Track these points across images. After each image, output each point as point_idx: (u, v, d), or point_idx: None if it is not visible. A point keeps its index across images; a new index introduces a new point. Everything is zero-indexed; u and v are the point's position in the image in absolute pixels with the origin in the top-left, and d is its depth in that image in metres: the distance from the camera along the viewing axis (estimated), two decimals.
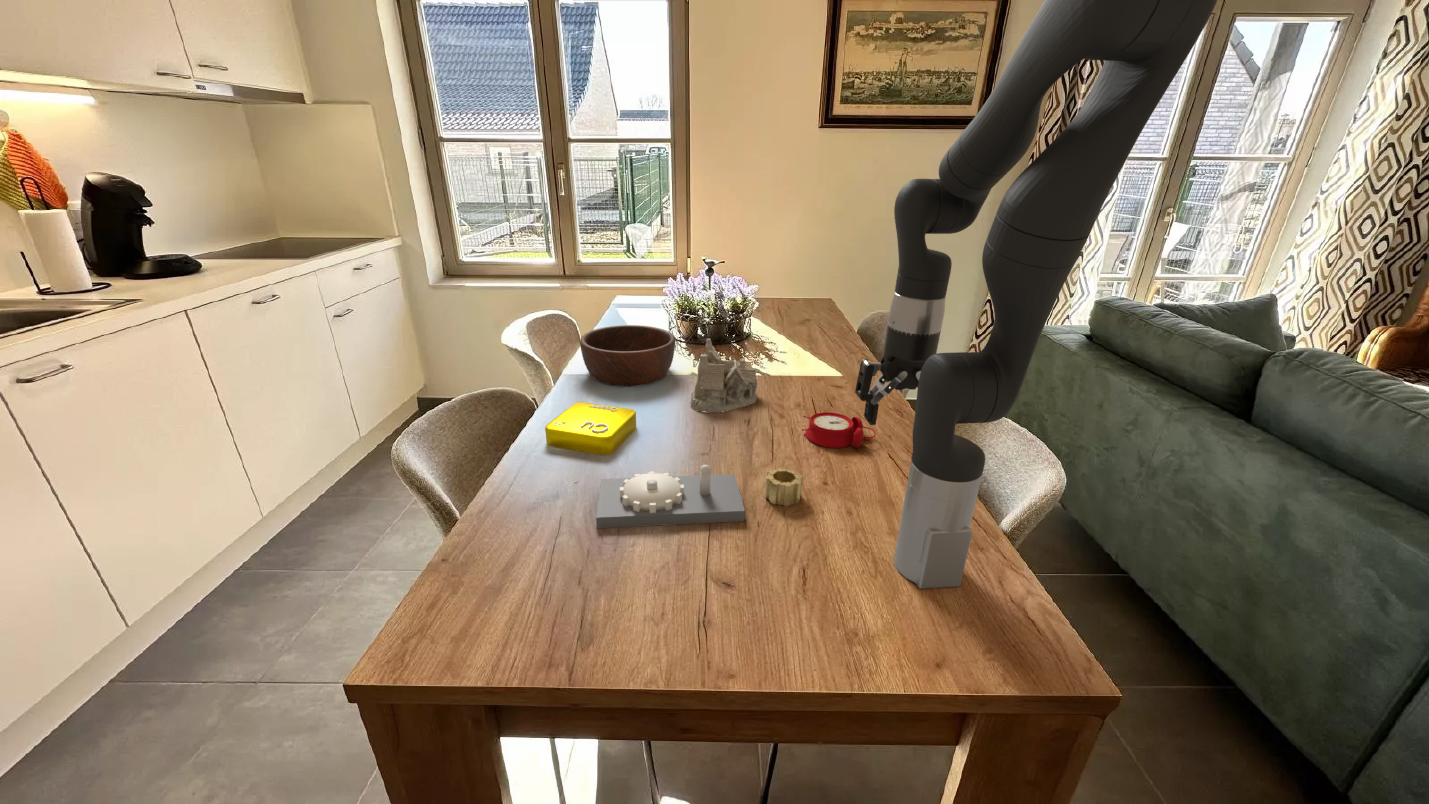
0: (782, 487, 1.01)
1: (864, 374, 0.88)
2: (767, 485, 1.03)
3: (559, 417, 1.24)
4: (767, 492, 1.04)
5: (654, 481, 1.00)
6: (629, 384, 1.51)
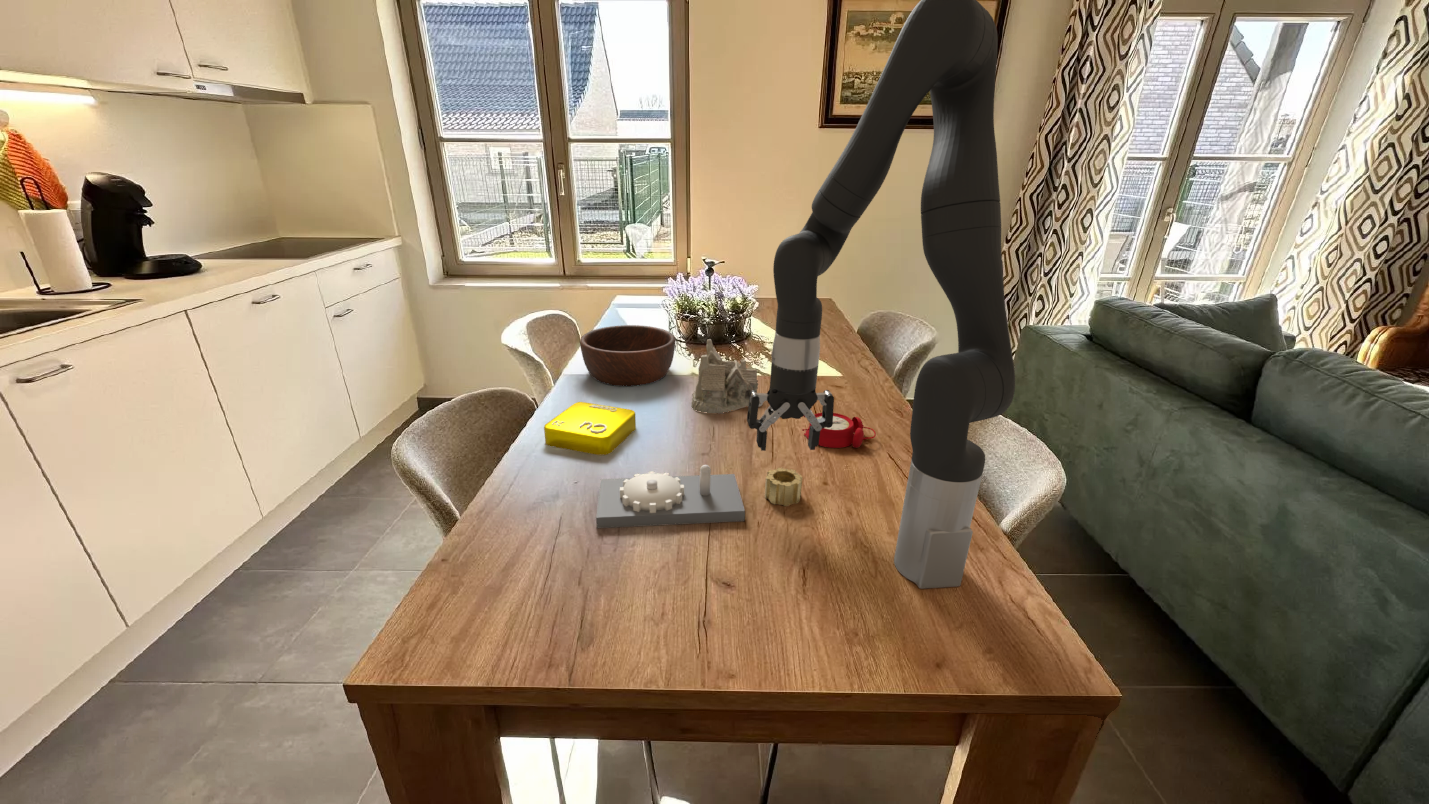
0: (782, 487, 1.01)
1: (751, 404, 0.97)
2: (767, 485, 1.03)
3: (558, 416, 1.24)
4: (767, 492, 1.04)
5: (654, 481, 1.00)
6: (629, 384, 1.51)
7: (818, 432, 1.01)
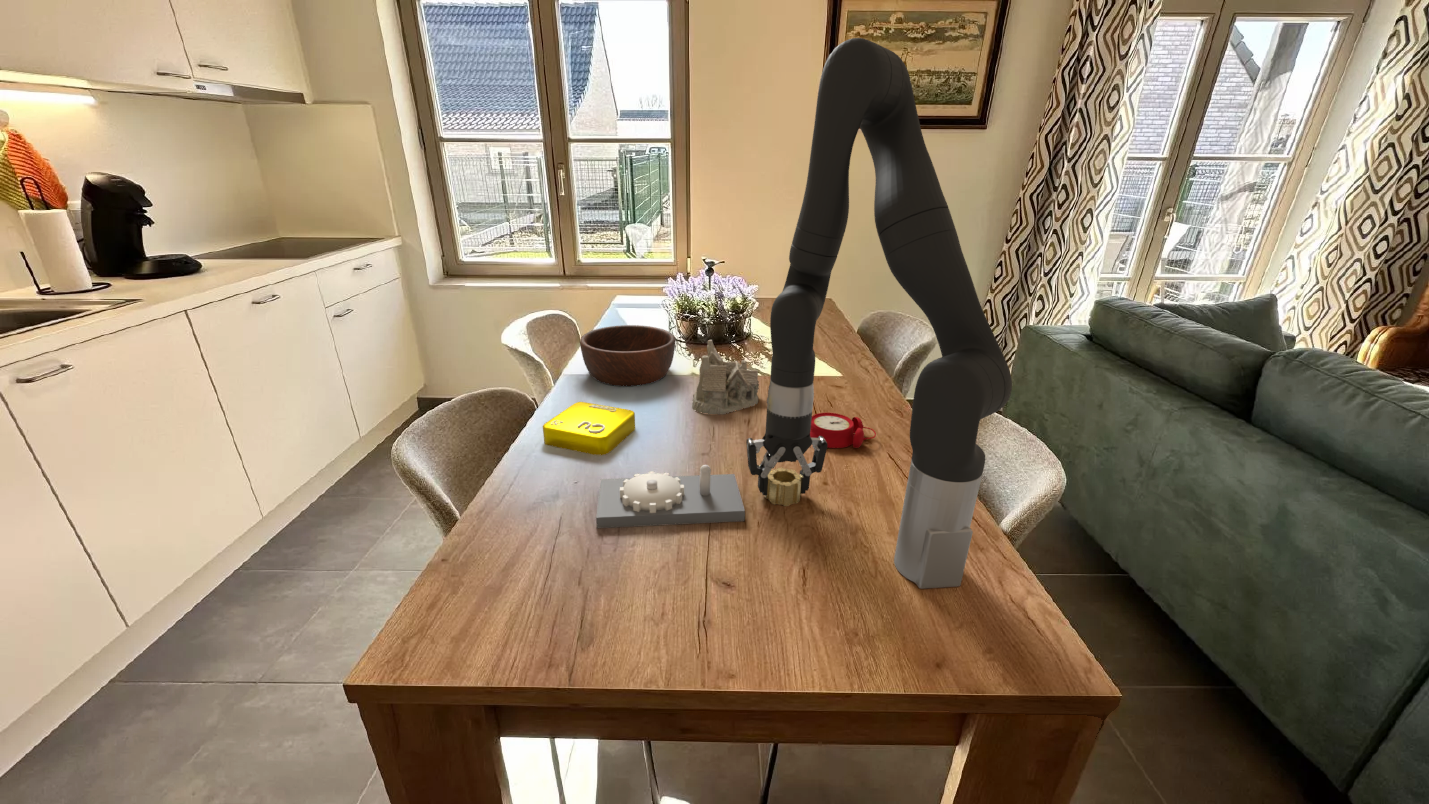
0: (782, 487, 1.01)
1: (749, 453, 1.00)
2: None
3: (558, 416, 1.25)
4: (767, 492, 1.04)
5: (654, 481, 1.00)
6: (629, 384, 1.51)
7: (808, 477, 1.03)
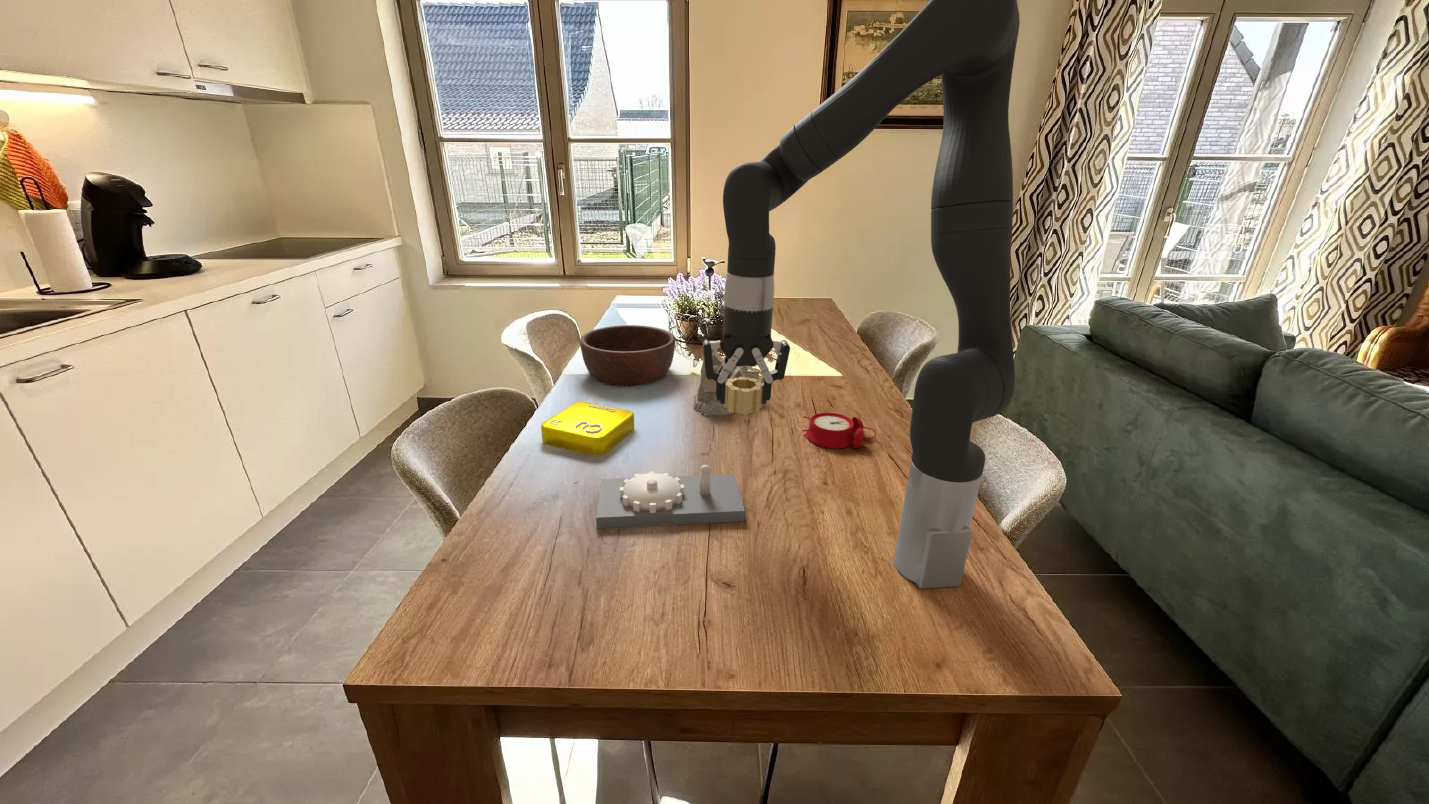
0: (740, 393, 0.94)
1: (704, 354, 0.93)
2: (725, 392, 0.96)
3: (557, 415, 1.25)
4: (725, 400, 0.97)
5: (654, 481, 1.00)
6: (629, 384, 1.51)
7: (769, 385, 0.96)
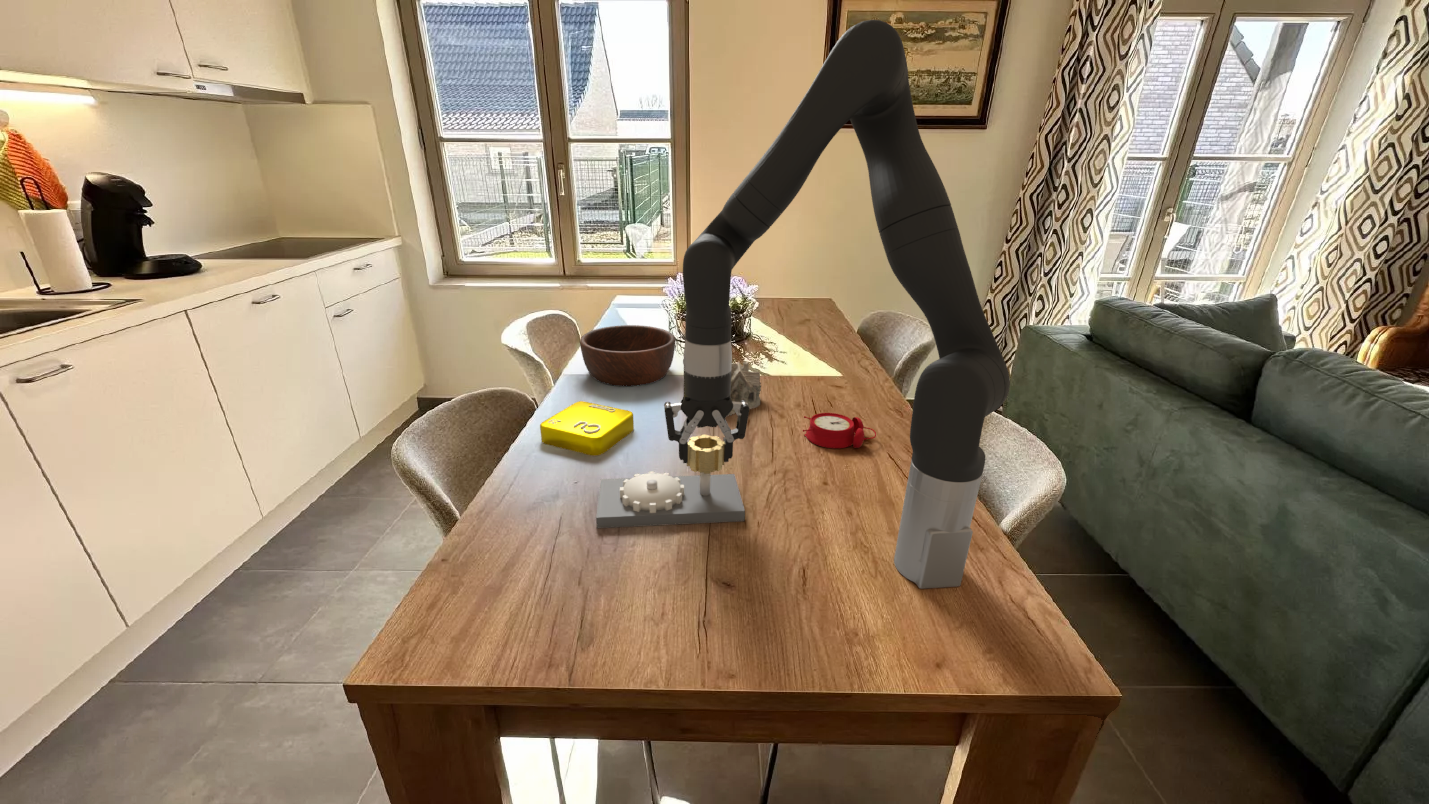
0: (702, 453, 0.96)
1: None
2: (688, 452, 0.98)
3: (556, 415, 1.25)
4: (688, 459, 0.99)
5: (654, 481, 1.00)
6: (629, 384, 1.51)
7: (731, 443, 0.98)
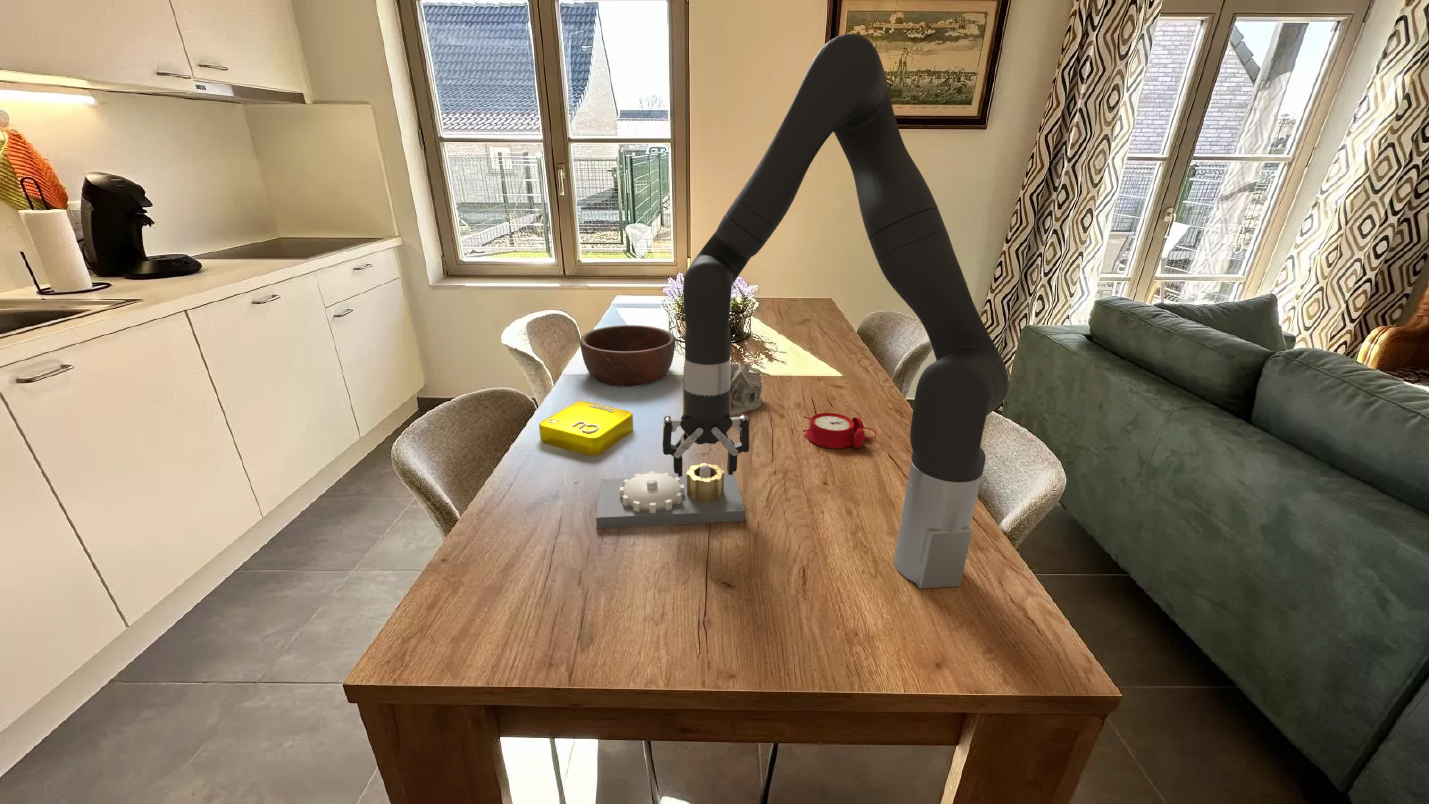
0: (701, 483, 0.98)
1: (664, 430, 0.95)
2: (688, 481, 1.00)
3: (556, 415, 1.25)
4: (688, 488, 1.01)
5: (654, 481, 1.00)
6: (629, 384, 1.51)
7: (735, 457, 0.99)
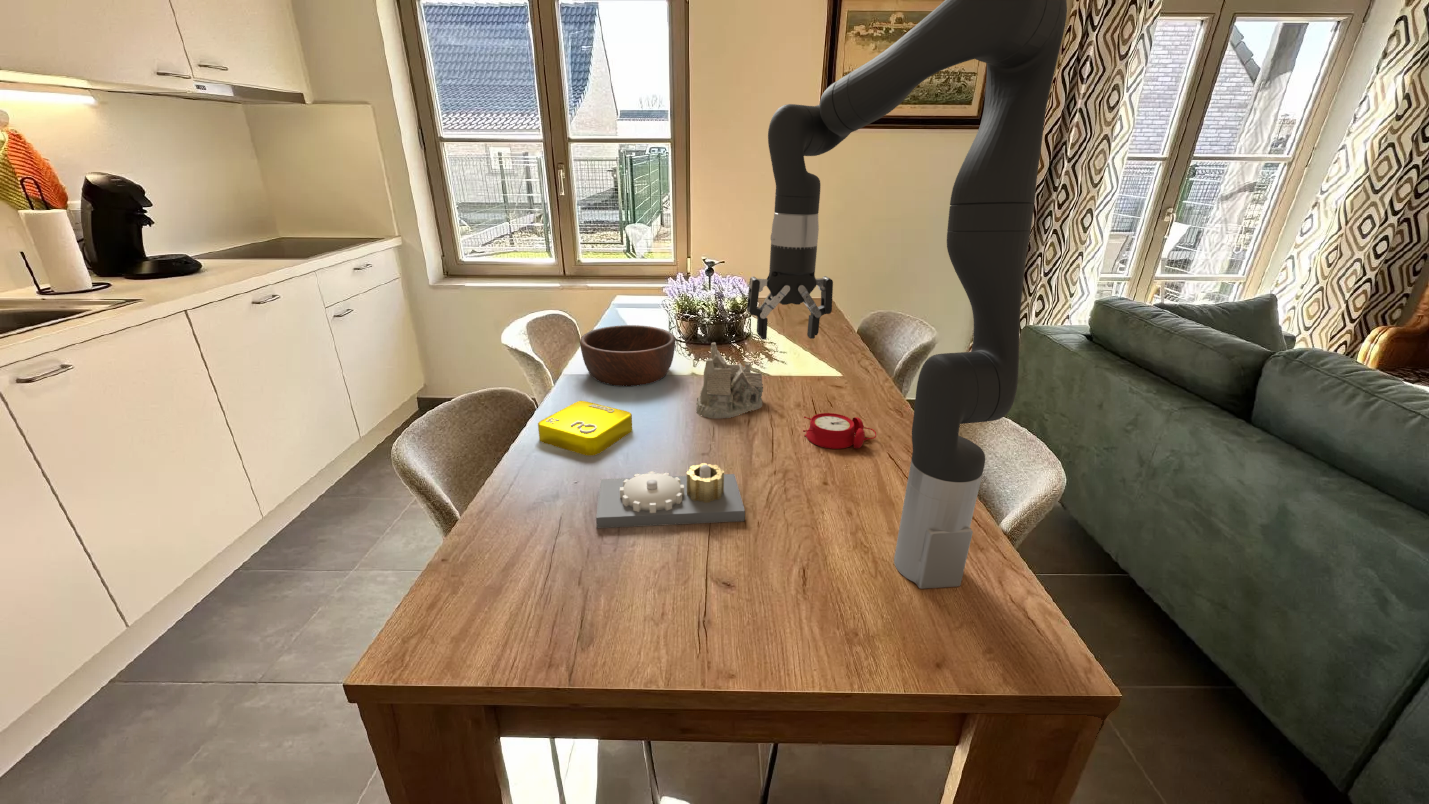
0: (701, 483, 0.98)
1: (751, 289, 0.97)
2: (688, 481, 1.00)
3: (555, 414, 1.26)
4: (688, 488, 1.01)
5: (654, 481, 1.00)
6: (629, 384, 1.51)
7: (818, 319, 1.01)
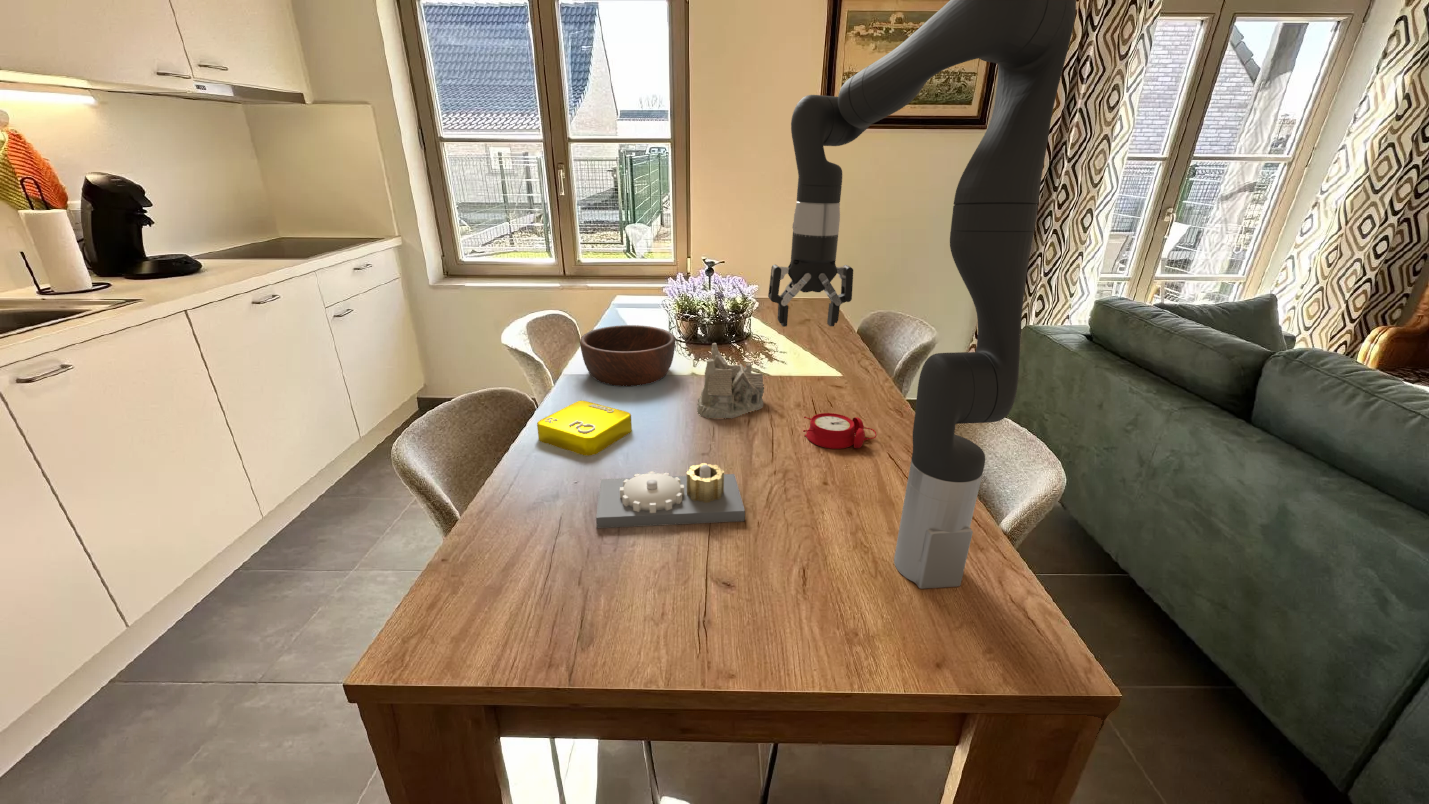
0: (701, 483, 0.98)
1: (773, 276, 1.00)
2: (688, 481, 1.00)
3: (555, 414, 1.26)
4: (688, 488, 1.01)
5: (654, 481, 1.00)
6: (629, 384, 1.51)
7: (838, 307, 1.03)
